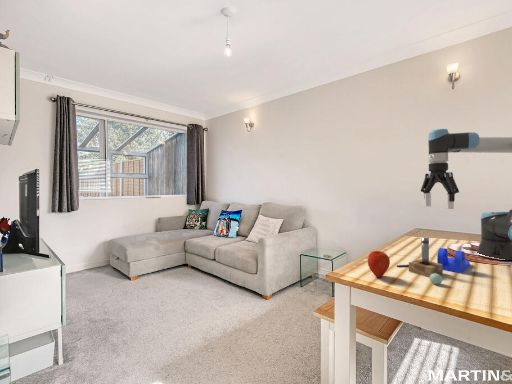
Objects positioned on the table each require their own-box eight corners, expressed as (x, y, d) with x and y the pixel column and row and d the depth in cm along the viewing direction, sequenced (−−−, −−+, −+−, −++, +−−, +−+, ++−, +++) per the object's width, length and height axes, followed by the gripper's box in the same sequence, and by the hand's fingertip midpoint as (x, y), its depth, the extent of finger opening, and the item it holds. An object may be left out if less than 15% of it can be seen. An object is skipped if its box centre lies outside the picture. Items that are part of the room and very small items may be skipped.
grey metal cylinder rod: (426, 271, 111) (425, 237, 110) (430, 273, 108) (430, 238, 108) (420, 271, 111) (419, 237, 110) (424, 273, 108) (424, 238, 107)
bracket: (460, 274, 107) (460, 253, 107) (437, 269, 114) (437, 249, 113) (471, 265, 118) (471, 245, 118) (450, 261, 125) (450, 242, 124)
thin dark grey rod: (425, 265, 119) (425, 263, 119) (427, 265, 118) (427, 264, 118) (396, 266, 118) (396, 265, 118) (397, 267, 117) (397, 265, 117)
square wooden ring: (420, 267, 115) (420, 259, 115) (442, 273, 108) (442, 264, 107) (408, 271, 111) (408, 262, 111) (431, 277, 103) (431, 268, 103)
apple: (392, 281, 101) (392, 254, 100) (369, 279, 103) (368, 253, 103) (387, 273, 109) (387, 249, 108) (366, 272, 111) (366, 248, 111)
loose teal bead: (436, 281, 99) (436, 271, 99) (445, 285, 95) (445, 275, 95) (427, 282, 99) (427, 272, 99) (434, 286, 95) (434, 275, 95)
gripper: (412, 165, 132) (412, 205, 133) (452, 160, 107) (452, 210, 108) (426, 164, 132) (426, 205, 133) (469, 160, 108) (469, 209, 108)
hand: (438, 207), depth 120 cm, fingers open, 13 cm apart
